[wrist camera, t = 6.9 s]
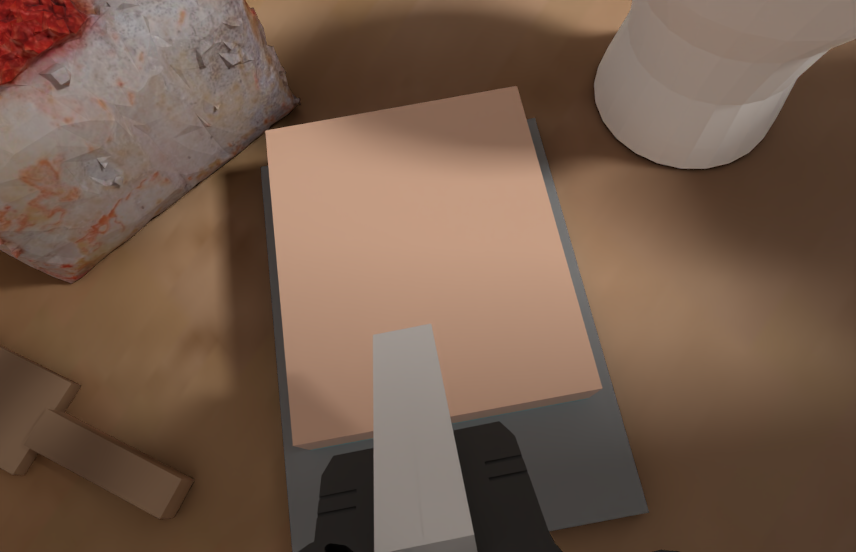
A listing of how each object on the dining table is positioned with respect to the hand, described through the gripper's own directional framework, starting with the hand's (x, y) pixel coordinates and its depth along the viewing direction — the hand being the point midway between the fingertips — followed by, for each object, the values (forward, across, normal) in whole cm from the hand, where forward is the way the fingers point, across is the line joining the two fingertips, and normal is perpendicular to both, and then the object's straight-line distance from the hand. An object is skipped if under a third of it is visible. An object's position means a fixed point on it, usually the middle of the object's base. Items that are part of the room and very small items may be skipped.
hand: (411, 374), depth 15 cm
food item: (+14, -10, +4) cm, 18 cm away
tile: (+3, +1, -4) cm, 5 cm away
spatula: (+6, -14, -4) cm, 15 cm away
